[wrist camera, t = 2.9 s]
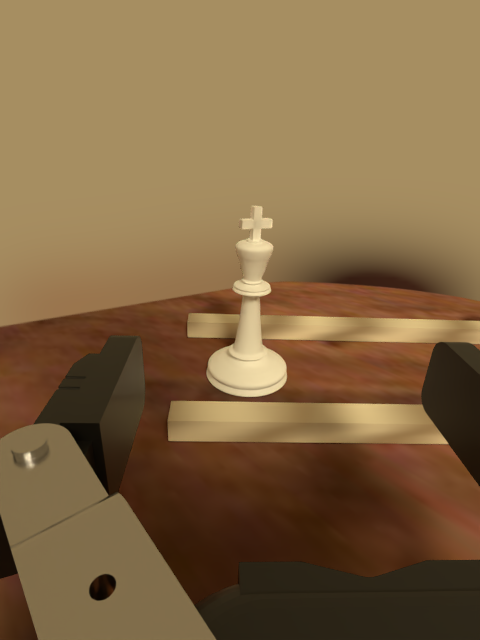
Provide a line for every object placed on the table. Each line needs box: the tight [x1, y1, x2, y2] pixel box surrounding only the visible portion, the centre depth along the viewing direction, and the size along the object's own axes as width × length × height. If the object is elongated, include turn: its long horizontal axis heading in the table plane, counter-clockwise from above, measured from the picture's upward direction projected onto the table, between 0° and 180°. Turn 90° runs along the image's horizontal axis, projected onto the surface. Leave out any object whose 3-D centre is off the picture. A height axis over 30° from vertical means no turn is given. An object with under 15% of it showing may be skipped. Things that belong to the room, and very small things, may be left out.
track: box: [168, 313, 480, 444], centre depth 24 cm, size 25×14×2 cm, turn 92°
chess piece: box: [206, 206, 287, 397], centre depth 22 cm, size 5×5×10 cm
